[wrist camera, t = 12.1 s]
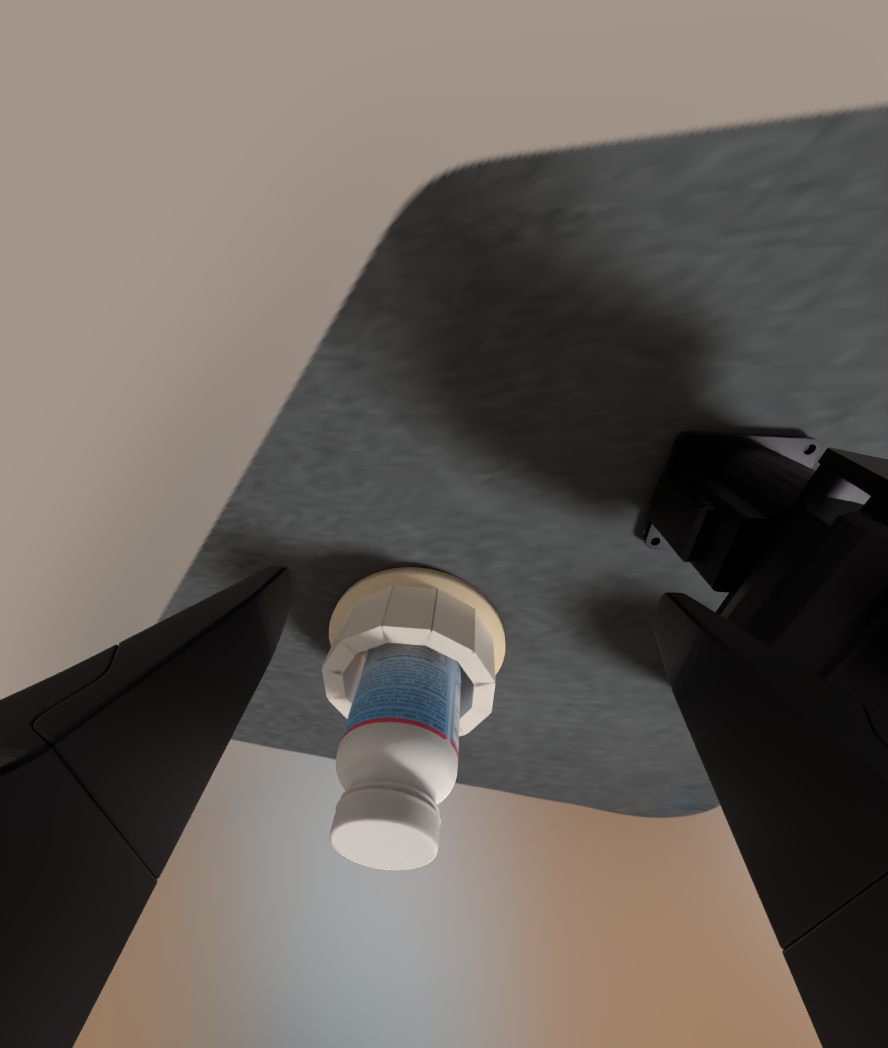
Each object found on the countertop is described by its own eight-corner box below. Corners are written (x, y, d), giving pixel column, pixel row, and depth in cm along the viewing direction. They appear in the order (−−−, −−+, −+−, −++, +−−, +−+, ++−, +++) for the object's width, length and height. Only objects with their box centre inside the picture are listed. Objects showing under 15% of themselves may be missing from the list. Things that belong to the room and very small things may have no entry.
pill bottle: (354, 635, 26) (280, 831, 16) (425, 595, 24) (389, 794, 14) (411, 686, 28) (376, 888, 18) (480, 654, 26) (482, 863, 16)
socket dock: (514, 573, 23) (521, 623, 20) (495, 701, 29) (498, 758, 26) (322, 560, 24) (294, 606, 20) (341, 687, 30) (322, 741, 26)
